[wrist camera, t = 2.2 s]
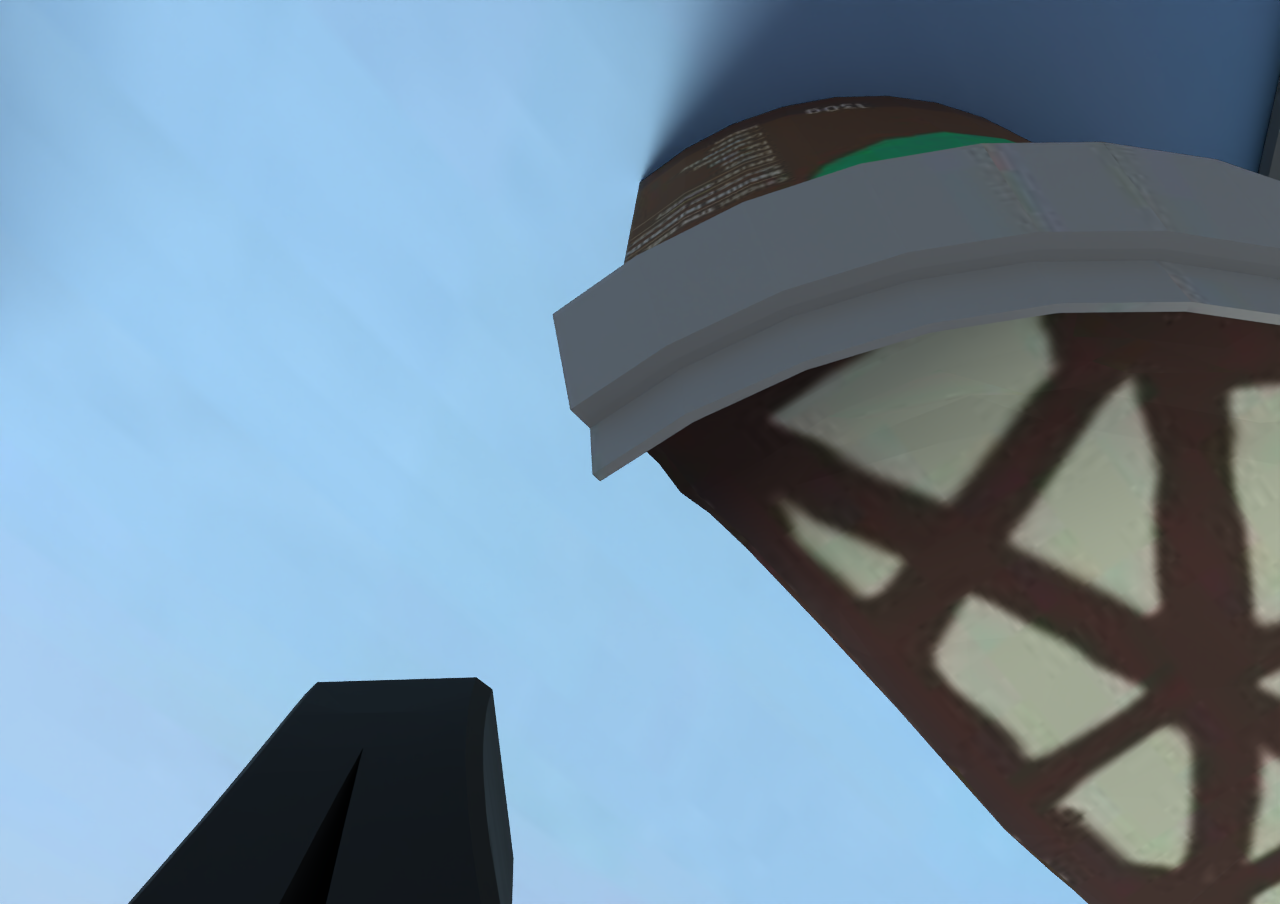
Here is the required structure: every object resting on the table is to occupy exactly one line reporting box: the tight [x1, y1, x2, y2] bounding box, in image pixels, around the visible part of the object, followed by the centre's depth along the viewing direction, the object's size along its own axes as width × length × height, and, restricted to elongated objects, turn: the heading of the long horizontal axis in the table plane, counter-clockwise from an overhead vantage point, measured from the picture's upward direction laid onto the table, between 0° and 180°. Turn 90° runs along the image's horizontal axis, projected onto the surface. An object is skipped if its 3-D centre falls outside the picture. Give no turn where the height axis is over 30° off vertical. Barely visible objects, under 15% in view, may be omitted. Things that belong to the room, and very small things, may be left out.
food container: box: [553, 96, 1280, 904], centre depth 14 cm, size 12×6×10 cm, turn 40°
